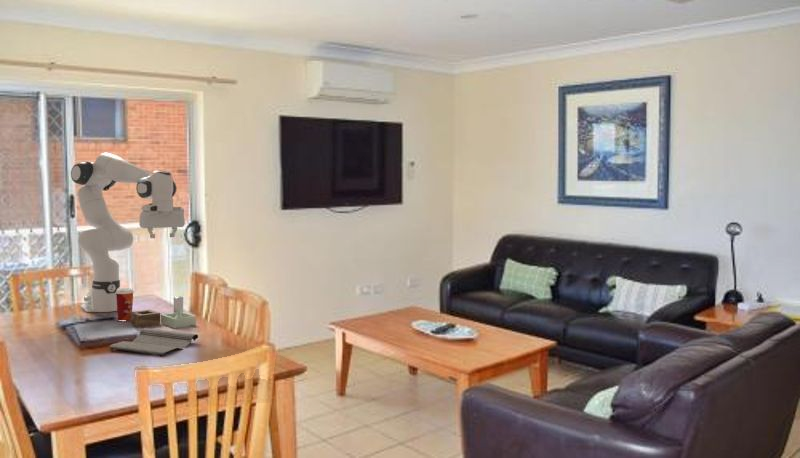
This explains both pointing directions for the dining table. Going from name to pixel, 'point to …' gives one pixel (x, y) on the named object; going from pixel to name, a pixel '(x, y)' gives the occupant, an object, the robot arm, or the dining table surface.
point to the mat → (156, 342)
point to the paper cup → (124, 303)
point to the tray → (178, 320)
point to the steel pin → (178, 307)
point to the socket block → (145, 318)
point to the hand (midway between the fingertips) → (162, 237)
